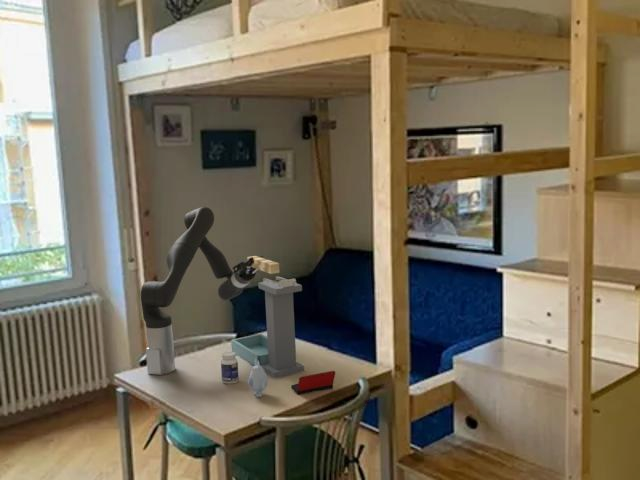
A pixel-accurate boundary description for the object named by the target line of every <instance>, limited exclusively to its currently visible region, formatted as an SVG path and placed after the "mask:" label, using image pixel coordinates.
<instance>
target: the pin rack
mask: <svg viewBox="0 0 640 480" xmlns="http://www.w3.org/2000/svg"><path fill="white" fill-rule="evenodd" d="M257 285H258V286H257V287H258V289H260V290H262V291H264V299H265V302H264V303H265V316H266V317H265V319H266V337H267V340H268V359H269V364H264V365H261V366H262V367H263V369H264V371H265V373H266V375H267V376H270V377H271V378H272V379H278V378H281V377H286V376H290V375H294V374H298V373H302V372H305V365H303V364H302V363H300V362H299V361H297V352H296V351H297V348H296V347H297V346H296V331H295V327H296V326H295V310H294V307H295V306H294V293H298V292H302V291H303V285H302V284H300V283H297V279H296V278H290V279H287V278H284V277H282V276H275V279H274V280H272V279H269V278H266V277H264V278H262V281H260V282H258V283H257Z"/></svg>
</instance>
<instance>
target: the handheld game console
mask: <svg viewBox="0 0 640 480" xmlns="http://www.w3.org/2000/svg"><path fill="white" fill-rule="evenodd" d="M335 376H336V371H335V370H331V371H324V372H320V373H313V374H309V375H305V376H300V378H299V379H298V383H294V384H291V386H290V388H291V389H292V391H293V392H294V393H295V394H296V395H297V396H299V395H305V394H310V393H313V392H321V391H326V390H332V389H333V388H334V387H333V386H334V382H335V381H334V380H335V378H336V377H335Z"/></svg>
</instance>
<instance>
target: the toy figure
mask: <svg viewBox="0 0 640 480" xmlns="http://www.w3.org/2000/svg"><path fill="white" fill-rule="evenodd" d="M255 365H256V366H253V367H252V368H251V371H250V373H249V377H248V379H247V381H248V386H249V388H251V390H252V391H254V393H253V394H254V395H255V396H256V397H257V398H261V397H263V391H264V390H265V389H266V388H267V386H268V383H269V379H268V374H266V373H265V371H264V369H263V367H262V366H260V363H259V361H258V362H257V359H255Z"/></svg>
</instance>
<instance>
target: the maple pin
mask: <svg viewBox="0 0 640 480" xmlns="http://www.w3.org/2000/svg"><path fill="white" fill-rule="evenodd" d="M251 257H253V260H254V263H253V264H252V265H251V266H250V267H253V268H255V269H258V271H261V272H264V273H267V274H269V275H273V274H279V273H280V263H279V262H276V261H274V260H270V259H266V258H260V256H257V255H253V256H247V261H248V260H249V259H250V258H251Z"/></svg>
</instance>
